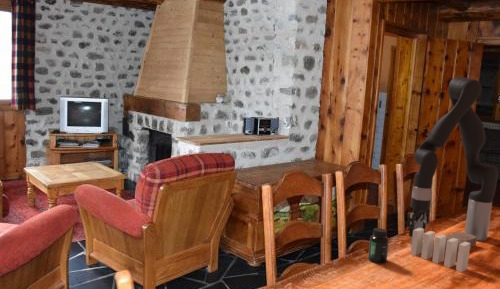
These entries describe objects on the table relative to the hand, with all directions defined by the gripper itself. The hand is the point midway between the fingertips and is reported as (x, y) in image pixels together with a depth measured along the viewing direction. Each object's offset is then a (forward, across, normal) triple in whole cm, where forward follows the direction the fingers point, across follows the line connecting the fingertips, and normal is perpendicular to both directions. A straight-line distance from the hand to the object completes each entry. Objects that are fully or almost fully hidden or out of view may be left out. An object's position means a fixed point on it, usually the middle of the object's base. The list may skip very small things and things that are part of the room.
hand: (416, 234), depth 189 cm
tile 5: (+4, +10, +19) cm, 22 cm away
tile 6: (+4, +10, +23) cm, 26 cm away
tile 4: (+4, +10, +14) cm, 18 cm away
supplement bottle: (+5, +29, 0) cm, 29 cm away
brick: (+5, -12, +12) cm, 18 cm away
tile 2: (+4, +10, +5) cm, 12 cm away
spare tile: (+4, 0, 0) cm, 4 cm away
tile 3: (+4, +10, +10) cm, 14 cm away
